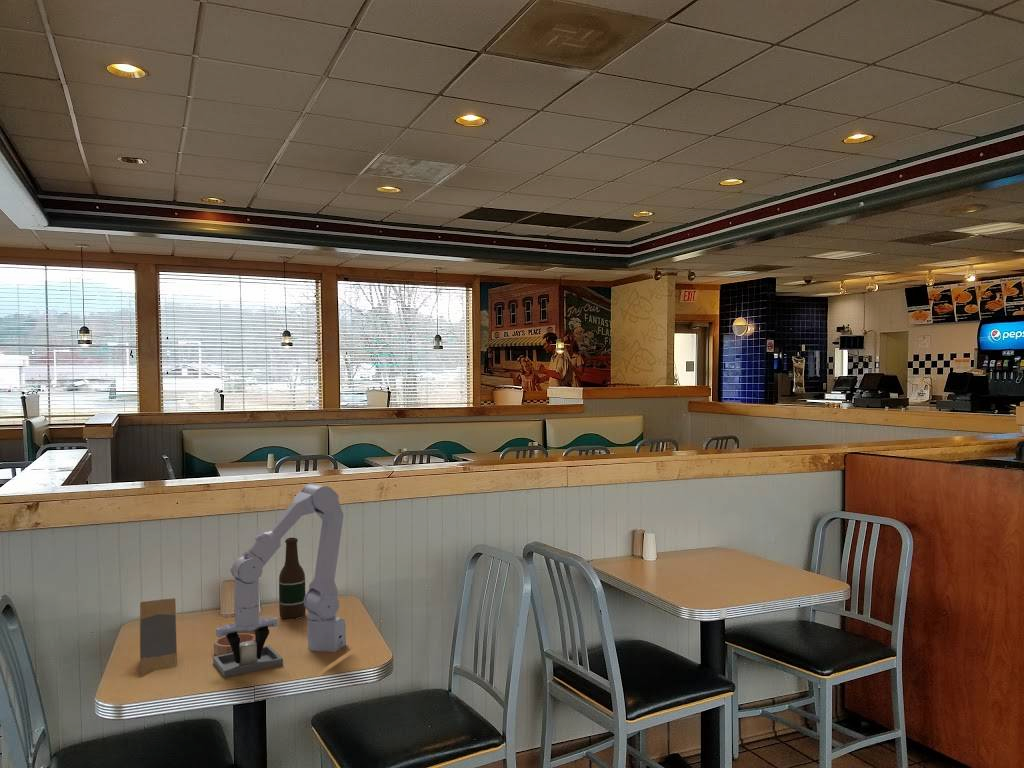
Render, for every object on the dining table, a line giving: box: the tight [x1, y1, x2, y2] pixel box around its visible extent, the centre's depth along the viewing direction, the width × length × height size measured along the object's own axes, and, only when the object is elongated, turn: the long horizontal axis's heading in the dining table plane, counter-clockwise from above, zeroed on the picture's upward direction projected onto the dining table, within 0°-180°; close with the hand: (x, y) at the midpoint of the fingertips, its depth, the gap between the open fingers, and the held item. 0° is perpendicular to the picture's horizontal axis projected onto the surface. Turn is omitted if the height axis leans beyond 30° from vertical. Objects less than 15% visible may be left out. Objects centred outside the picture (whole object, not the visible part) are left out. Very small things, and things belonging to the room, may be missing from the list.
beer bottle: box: [278, 537, 307, 620], centre depth 230 cm, size 8×8×24 cm
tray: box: [212, 645, 284, 679], centre depth 187 cm, size 14×12×3 cm
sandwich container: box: [139, 597, 178, 678], centre depth 190 cm, size 9×15×15 cm, turn 26°
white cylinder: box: [238, 641, 257, 667], centre depth 187 cm, size 4×4×5 cm
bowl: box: [213, 632, 256, 656], centre depth 197 cm, size 10×10×4 cm
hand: (247, 660), depth 187 cm, fingers closed on white cylinder, 4 cm apart
